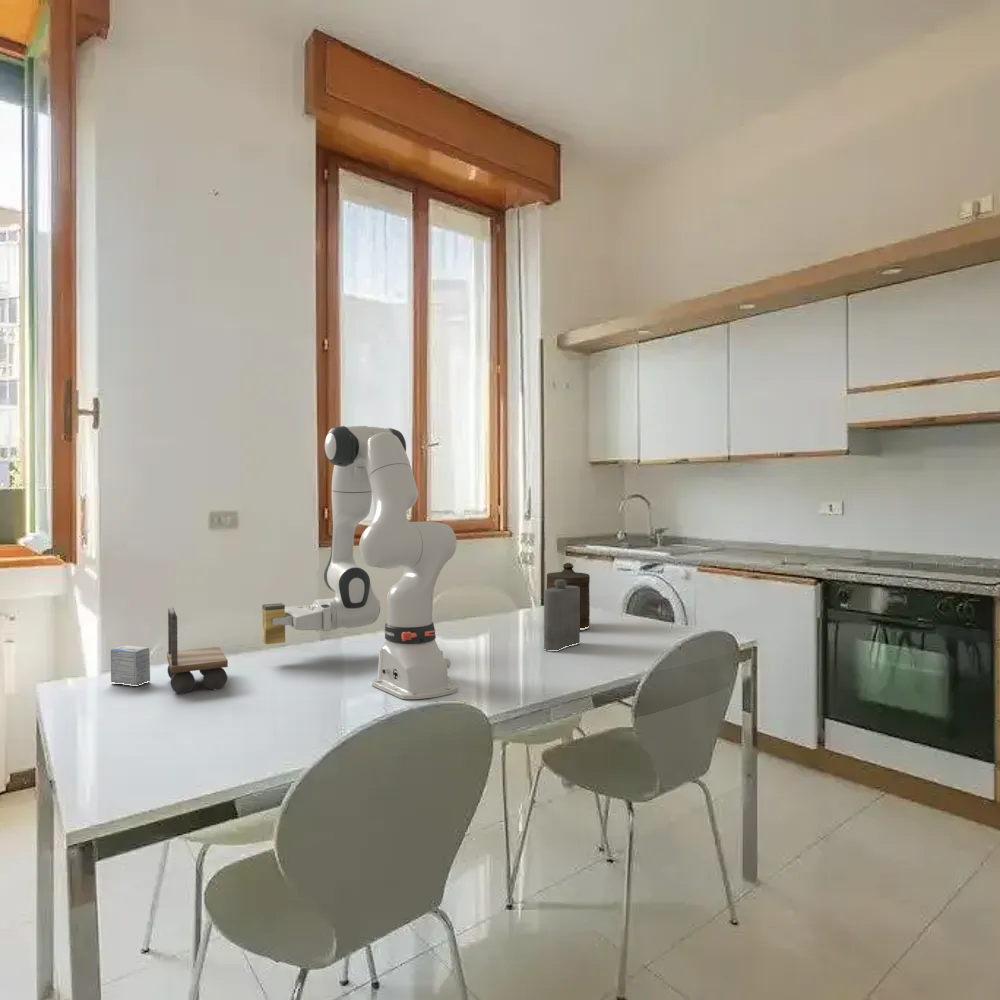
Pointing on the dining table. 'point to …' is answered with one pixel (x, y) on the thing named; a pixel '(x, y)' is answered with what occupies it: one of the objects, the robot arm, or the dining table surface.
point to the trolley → (193, 662)
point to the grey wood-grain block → (130, 665)
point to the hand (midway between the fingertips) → (270, 619)
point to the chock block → (271, 631)
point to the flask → (561, 616)
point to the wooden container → (574, 580)
